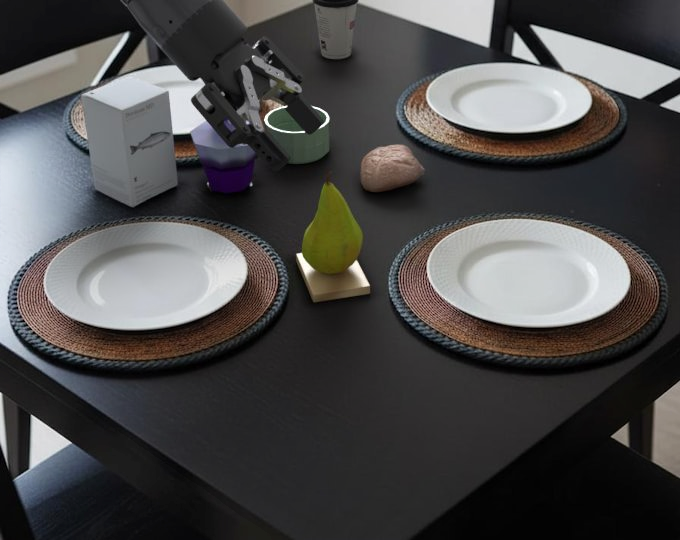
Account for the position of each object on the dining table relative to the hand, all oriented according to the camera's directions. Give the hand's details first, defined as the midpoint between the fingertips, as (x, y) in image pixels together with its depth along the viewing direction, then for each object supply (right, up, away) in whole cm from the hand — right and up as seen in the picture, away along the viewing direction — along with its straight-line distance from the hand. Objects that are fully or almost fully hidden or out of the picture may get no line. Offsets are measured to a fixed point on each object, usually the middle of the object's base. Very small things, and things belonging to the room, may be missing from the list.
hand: (301, 146), depth 102 cm
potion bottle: (-10, -2, +25) cm, 27 cm away
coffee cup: (+3, +21, +59) cm, 63 cm away
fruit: (+3, -12, +7) cm, 14 cm away
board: (+3, -13, +8) cm, 15 cm away
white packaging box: (-21, -2, +24) cm, 32 cm away
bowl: (-2, +3, +32) cm, 32 cm away
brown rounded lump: (+10, -2, +25) cm, 27 cm away
